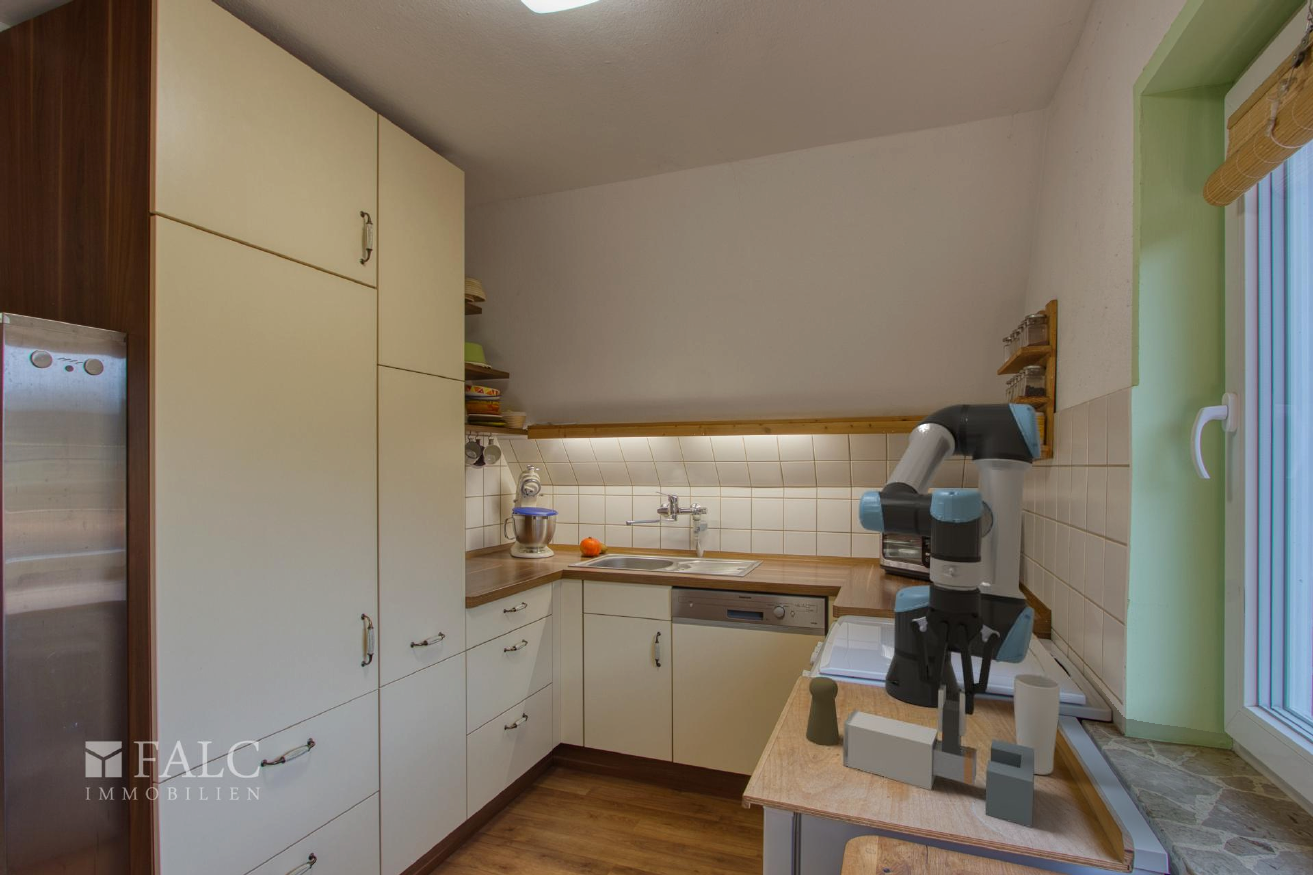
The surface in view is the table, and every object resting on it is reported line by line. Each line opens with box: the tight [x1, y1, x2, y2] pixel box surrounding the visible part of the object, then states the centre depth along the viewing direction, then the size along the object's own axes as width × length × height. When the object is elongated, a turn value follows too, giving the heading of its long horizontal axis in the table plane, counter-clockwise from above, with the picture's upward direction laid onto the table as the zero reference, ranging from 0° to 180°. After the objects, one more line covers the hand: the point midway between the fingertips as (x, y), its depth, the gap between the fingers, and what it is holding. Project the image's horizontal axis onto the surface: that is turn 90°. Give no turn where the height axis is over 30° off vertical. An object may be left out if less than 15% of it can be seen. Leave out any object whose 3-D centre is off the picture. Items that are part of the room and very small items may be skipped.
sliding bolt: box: [932, 700, 978, 786], centre depth 108 cm, size 4×18×11 cm, turn 59°
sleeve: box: [842, 709, 939, 791], centre depth 111 cm, size 6×14×7 cm, turn 59°
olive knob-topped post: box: [805, 676, 840, 746], centre depth 122 cm, size 6×6×11 cm
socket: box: [985, 738, 1035, 827], centre depth 101 cm, size 12×6×7 cm, turn 149°
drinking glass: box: [1013, 673, 1061, 776], centre depth 112 cm, size 7×7×15 cm
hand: (951, 729), depth 106 cm, fingers closed on sliding bolt, 2 cm apart
